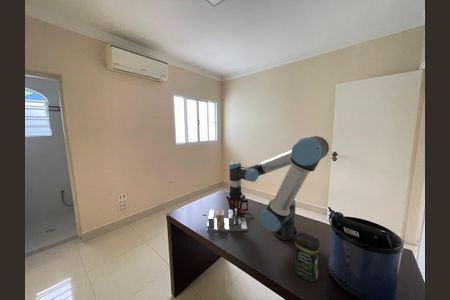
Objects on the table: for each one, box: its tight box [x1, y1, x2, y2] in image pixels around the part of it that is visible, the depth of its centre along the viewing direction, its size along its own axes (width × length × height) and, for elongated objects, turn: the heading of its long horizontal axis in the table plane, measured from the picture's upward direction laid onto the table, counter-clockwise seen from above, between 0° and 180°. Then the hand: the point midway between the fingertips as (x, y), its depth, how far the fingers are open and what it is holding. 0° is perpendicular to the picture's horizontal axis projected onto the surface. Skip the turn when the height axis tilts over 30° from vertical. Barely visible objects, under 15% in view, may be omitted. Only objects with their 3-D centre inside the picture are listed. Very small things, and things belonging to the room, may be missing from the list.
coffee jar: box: [293, 231, 321, 283], centre depth 77 cm, size 10×8×19 cm
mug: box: [228, 196, 249, 217], centre depth 134 cm, size 10×14×12 cm
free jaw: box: [227, 209, 241, 228], centre depth 116 cm, size 8×12×8 cm
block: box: [215, 209, 225, 227], centre depth 117 cm, size 5×7×8 cm
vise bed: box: [206, 209, 248, 232], centre depth 117 cm, size 26×13×8 cm, turn 89°
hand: (235, 218), depth 117 cm, fingers closed
